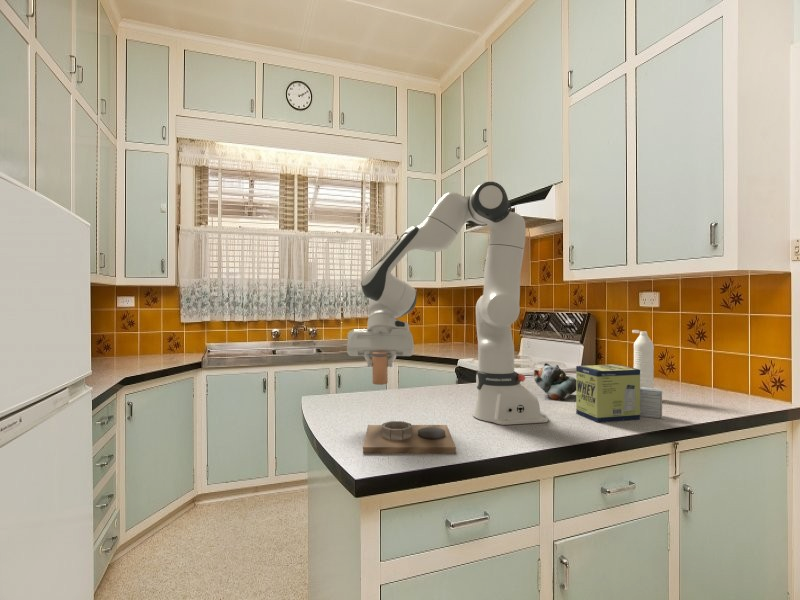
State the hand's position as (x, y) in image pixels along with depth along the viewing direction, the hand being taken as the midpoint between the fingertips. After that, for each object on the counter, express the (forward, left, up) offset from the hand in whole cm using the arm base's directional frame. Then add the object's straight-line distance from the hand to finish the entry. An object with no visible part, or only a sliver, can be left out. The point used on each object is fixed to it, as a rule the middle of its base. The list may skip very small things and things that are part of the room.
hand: (379, 365), depth 125 cm
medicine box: (-84, -10, -17) cm, 86 cm away
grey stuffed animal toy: (-65, -36, -17) cm, 77 cm away
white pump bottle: (-96, -34, -17) cm, 103 cm away
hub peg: (0, -1, -5) cm, 5 cm away
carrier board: (-8, +14, -17) cm, 24 cm away
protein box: (-71, -9, -17) cm, 73 cm away
